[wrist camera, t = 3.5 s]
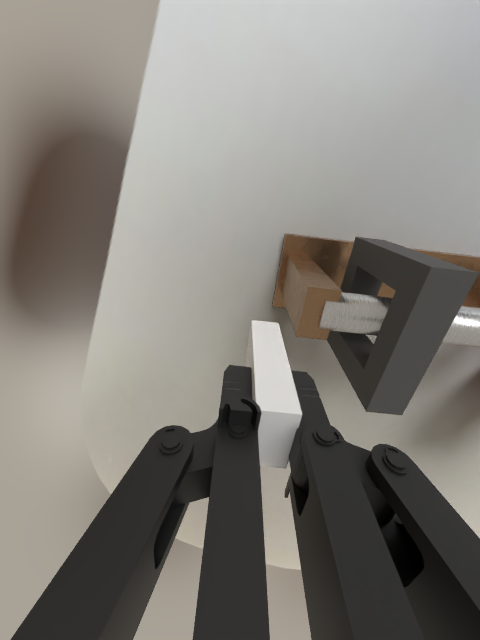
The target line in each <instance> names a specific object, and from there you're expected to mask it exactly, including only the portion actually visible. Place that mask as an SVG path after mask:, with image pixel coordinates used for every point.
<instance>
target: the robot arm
mask: <svg viewBox="0 0 480 640" xmlns="http://www.w3.org/2000/svg"><path fill="white" fill-rule="evenodd" d="M288 461H290V467H291V473H290V476H289V480H288V483H287V486H286V489H285V498H288V495H289V492H290V496H291V503H292V510H293V517H294V523H295V530H296V537H297V544H298V550H299V557H300V564H301V571H302V577H303V583H304V591H305V598H306V604H307V611H308V618H309V625H310V631H311V638H312V640H480V538H479V537H478V536H477V535H476V534H475V533H474V531H473V530H472V529H471V528H470V527H469V526H468V525H467V523H466V522H465V521H464V520H463V519H462V518H461V516H460V515H459V514H458V513H457V512H456V511H455V509H454V508H453V507H452V506H451V505H450V504H449V502H448V501H447V500H446V499H445V498H444V497H443V496H442V494H441V493H440V492H439V491H438V490H437V489H436V487H435V486H434V485H433V484H432V483H431V482H430V480H429V479H428V478H427V477H426V476H425V475H424V473H423V472H422V471H421V470H420V469H419V468H418V467H417V465H416V464H415V463H414V462H413V461H412V460H411V459H410V458H409V457H408V456H407V455H406V454H405V453H404V452H402V451H400V450H399V449H397V448H396V447H393V446H390V445H387V444H378V445H376V446H374V447H373V449H372V451H368V450H366V449H363V448H360V447H358V446H355V445H352V444H350V443H348V442H346V441H345V440H344V438H343V437H342V435H341V433H340V432H339V431H338V430H337V429H336V428H334V427H333V426H331V425H330V423H329V420H328V418H327V415H326V412H325V410H324V407H323V404H322V402H321V399H320V397H319V393H318V391H317V388H316V385H315V383H314V380H313V379H312V378H311V377H310V376H309V375H308V373H307V372H299V371H291V369H290V365H289V361H288V357H287V354H286V350H285V346H284V342H283V338H282V335H281V331H280V327H279V323H275V322H265V321H256V320H252V321H251V328H250V335H249V341H248V348H247V355H246V367H243V366H233V365H229V367H228V368H227V369H226V370H225V372H224V378H223V387H222V395H221V404H220V408H219V417H218V420H217V421H216V423H215V424H214V425H213V426H212V427H210V428H208V429H206V430H203V431H200V432H195V433H190V432H189V431H188V430H187V429H185V428H184V427H182V426H175V425H172V426H167V427H164V428H162V429H160V430H158V431H157V432H156V433H155V434H154V435H153V436H152V437H151V438H150V439H149V441H148V442H147V444H146V445H145V447H144V448H143V449H142V451H141V452H140V454H139V455H138V457H137V458H136V460H135V461H134V462H133V464H132V465H131V467H130V468H129V470H128V471H127V473H126V474H125V475H124V477H123V478H122V480H121V481H120V483H119V484H118V486H117V487H116V488H115V490H114V491H113V493H112V494H111V496H110V497H109V499H108V500H107V501H106V503H105V504H104V506H103V507H102V509H101V510H100V511H99V513H98V514H97V516H96V517H95V519H94V520H93V522H92V523H91V524H90V526H89V528H88V529H87V530H86V532H85V533H84V535H83V536H82V538H81V539H80V540H79V542H78V543H77V545H76V546H75V548H74V549H73V551H72V552H71V553H70V555H69V556H68V558H67V559H66V561H65V562H64V563H63V565H62V566H61V568H60V569H59V571H58V572H57V574H56V575H55V576H54V578H53V579H52V581H51V583H50V584H49V585H48V587H47V588H46V589H45V591H44V592H43V594H42V595H41V597H40V598H39V599H38V601H37V602H36V604H35V605H34V607H33V608H32V610H31V611H30V612H29V614H28V615H27V617H26V618H25V620H24V621H23V623H22V624H21V626H20V627H19V628H18V630H17V631H16V633H15V634H14V636H13V637H12V639H11V640H133V638H134V636H135V633H136V631H137V628H138V626H139V624H140V621H141V619H142V616H143V614H144V611H145V609H146V607H147V604H148V602H149V599H150V597H151V594H152V592H153V590H154V587H155V585H156V582H157V580H158V578H159V575H160V572H161V570H162V568H163V565H164V563H165V560H166V558H167V556H168V553H169V551H170V548H171V546H172V544H173V541H174V539H175V536H176V534H177V532H178V529H179V527H180V524H181V522H182V519H183V517H184V515H185V512H186V510H187V507H188V505H189V502H193V501H196V500H200V499H203V498H207V497H209V504H208V513H207V522H206V530H205V539H204V547H203V556H202V565H201V573H200V582H199V591H198V599H197V608H196V616H195V625H194V633H193V640H270V635H269V617H268V600H267V582H266V565H265V547H264V530H263V512H262V495H261V477H260V466H265V467H276V468H287V464H288Z"/></svg>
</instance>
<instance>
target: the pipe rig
mask: <svg viewBox="0 0 480 640" xmlns="http://www.w3.org/2000/svg"><path fill="white" fill-rule="evenodd" d="M353 245H354V242H352V241H343V240H335V239H327V238H319V237H310V236H302V235H294V234H285V238H284V243H283V248H282V254H281V259H280V265H279V270H278V276H277V281H276V287H275V292H274V298H273V303H272V304H273V306H274V307H282V308H287V311H288V314H289V317H290V320H291V323H292V326H293V329H294V332H295V335H296V336H298V337H307V338H316V339H325V340H327V338H328V335H329V332H330V330H331V331H340V332H349V333H358V334H367V335H376V336H378V333H379V331H380V328H381V326H382V323H383V321H384V318H385V316H386V313H387V311H388V309H389V306H390V304H391V301H392V299H393V296H394V294H395V290H394V289H392V288H391V287H389V286H388V285H386V284H385V283H383V282H382V285H381V287H380V290H379V293H378V295H377V296H371V295H363V294H354V293H345V292H342V290H341V289H340V288H341V284H342V281H343V278H344V274H345V271H346V268H347V265H348V261H349V258H350V255H351V251H352V248H353ZM408 249H410V248H408ZM411 250H414V251H417V252H420V253H423V254H426V255H429V256H432V257H435V258H438V259H441V260H444V261H447V262H450V263H452V264H455V265H458V266H461V267H464V268H467V269H470V270H473V271H476V272H479V275H478V277H477V278H476V280H475V282H474V284H473V286H472V288H471V289H470V291H469V293H468V295H467V297H466V299H465V300H464V302H463V304H462V306H461V308H460V310H459V311H458V313H457V315H456V317H455V319H454V321H453V322H452V324H451V326H450V328H449V330H448V332H447V334H446V335H445V337H444V339H443V341H442V343H448V344H457V345H466V346H475V347H480V257H476V256H468V255H459V254H451V253H443V252H434V251H426V250H418V249H411Z"/></svg>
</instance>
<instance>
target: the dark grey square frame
mask: <svg viewBox="0 0 480 640" xmlns="http://www.w3.org/2000/svg"><path fill="white" fill-rule="evenodd" d="M478 275H479V272H476V271H473V270H470V269H467V268H464V267H461V266H458V265H455V264H452V263H450V262H447V261H444V260H441V259H438V258H435V257H432V256H429V255H426V254H423V253H420V252H417V251H414V250H411V249H408V248H406V247H403V246H400V245H397V244H394V243H391V242H388V241H385V240H378V239H369V238H361V237H356V238H355V241H354V245H353V248H352V251H351V255H350V258H349V261H348V265H347V268H346V271H345V274H344V278H343V281H342V284H341V288H340V289H341V290H342V292H345V293H354V294H363V295H371V296H377V295H378V293H379V290H380V287H381V285H382V282H383V283H385V284H386V285H388V286H389V287H391V288H392V289H394V290H395V294H394V296H393V299H392V301H391V304H390V306H389V309H388V311H387V313H386V316H385V318H384V321H383V323H382V326H381V328H380V331H379V333H378V336H377V338H376V340H375V343H374V344H373V343H372V342H371V341H370V340H369V338H368V337H367V336H366V335H365V334H358V333H349V332H340V331H331V330H330V332H329V335H328V338H327V341H328V343H329V344H330V346H331V348H332V350H333V352H334V354H335V355H336V357H337V359H338V361H339V363H340V365H341V366H342V368H343V370H344V372H345V374H346V376H347V377H348V379H349V381H350V383H351V385H352V387H353V388H354V390H355V392H356V394H357V396H358V398H359V399H360V401H361V403H362V405H363V407H364V409H365V410H366V412H376V413H386V414H395V415H402V414H403V412H404V411H405V409H406V407H407V405H408V403H409V401H410V400H411V398H412V396H413V394H414V392H415V390H416V389H417V387H418V385H419V383H420V381H421V379H422V378H423V376H424V374H425V372H426V370H427V368H428V367H429V365H430V363H431V361H432V359H433V357H434V356H435V354H436V352H437V350H438V348H439V346H440V345H441V343H442V341H443V339H444V337H445V335H446V334H447V332H448V330H449V328H450V326H451V324H452V322H453V321H454V319H455V317H456V315H457V313H458V311H459V310H460V308H461V306H462V304H463V302H464V300H465V299H466V297H467V295H468V293H469V291H470V289H471V288H472V286H473V284H474V282H475V280H476V278H477V277H478Z"/></svg>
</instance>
